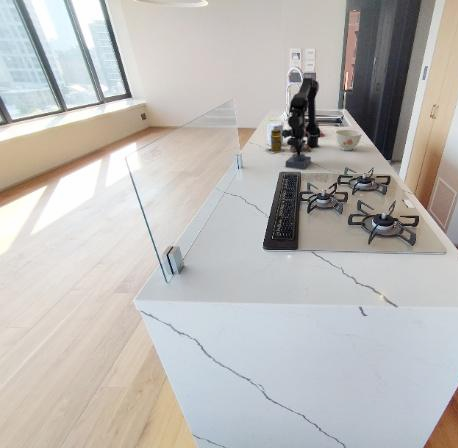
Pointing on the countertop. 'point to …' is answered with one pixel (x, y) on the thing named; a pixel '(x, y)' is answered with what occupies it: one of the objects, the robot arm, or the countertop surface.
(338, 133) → the bowl
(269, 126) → the white packaging box
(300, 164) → the dispenser
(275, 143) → the condiment
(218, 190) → the countertop surface
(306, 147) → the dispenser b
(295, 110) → the robot arm
